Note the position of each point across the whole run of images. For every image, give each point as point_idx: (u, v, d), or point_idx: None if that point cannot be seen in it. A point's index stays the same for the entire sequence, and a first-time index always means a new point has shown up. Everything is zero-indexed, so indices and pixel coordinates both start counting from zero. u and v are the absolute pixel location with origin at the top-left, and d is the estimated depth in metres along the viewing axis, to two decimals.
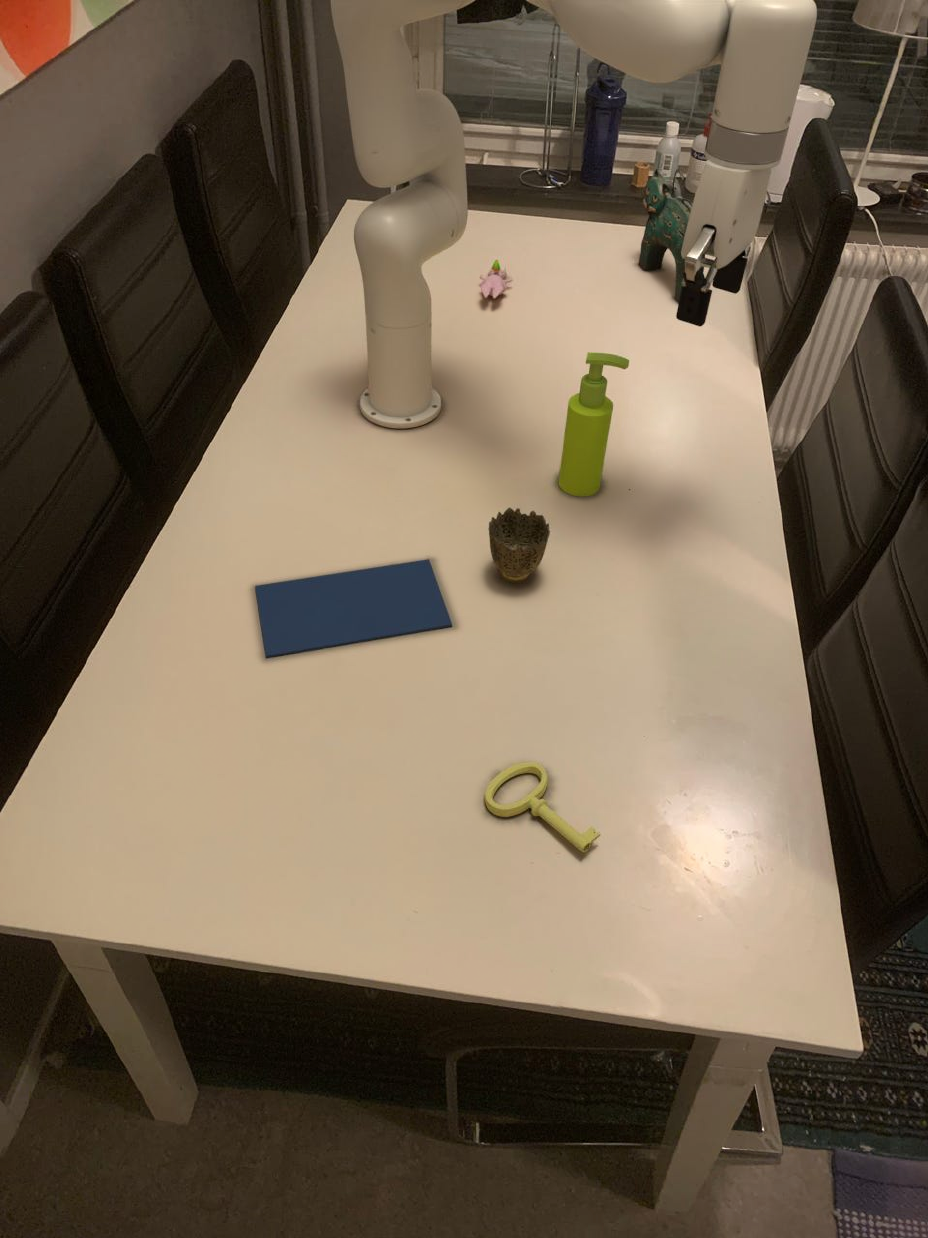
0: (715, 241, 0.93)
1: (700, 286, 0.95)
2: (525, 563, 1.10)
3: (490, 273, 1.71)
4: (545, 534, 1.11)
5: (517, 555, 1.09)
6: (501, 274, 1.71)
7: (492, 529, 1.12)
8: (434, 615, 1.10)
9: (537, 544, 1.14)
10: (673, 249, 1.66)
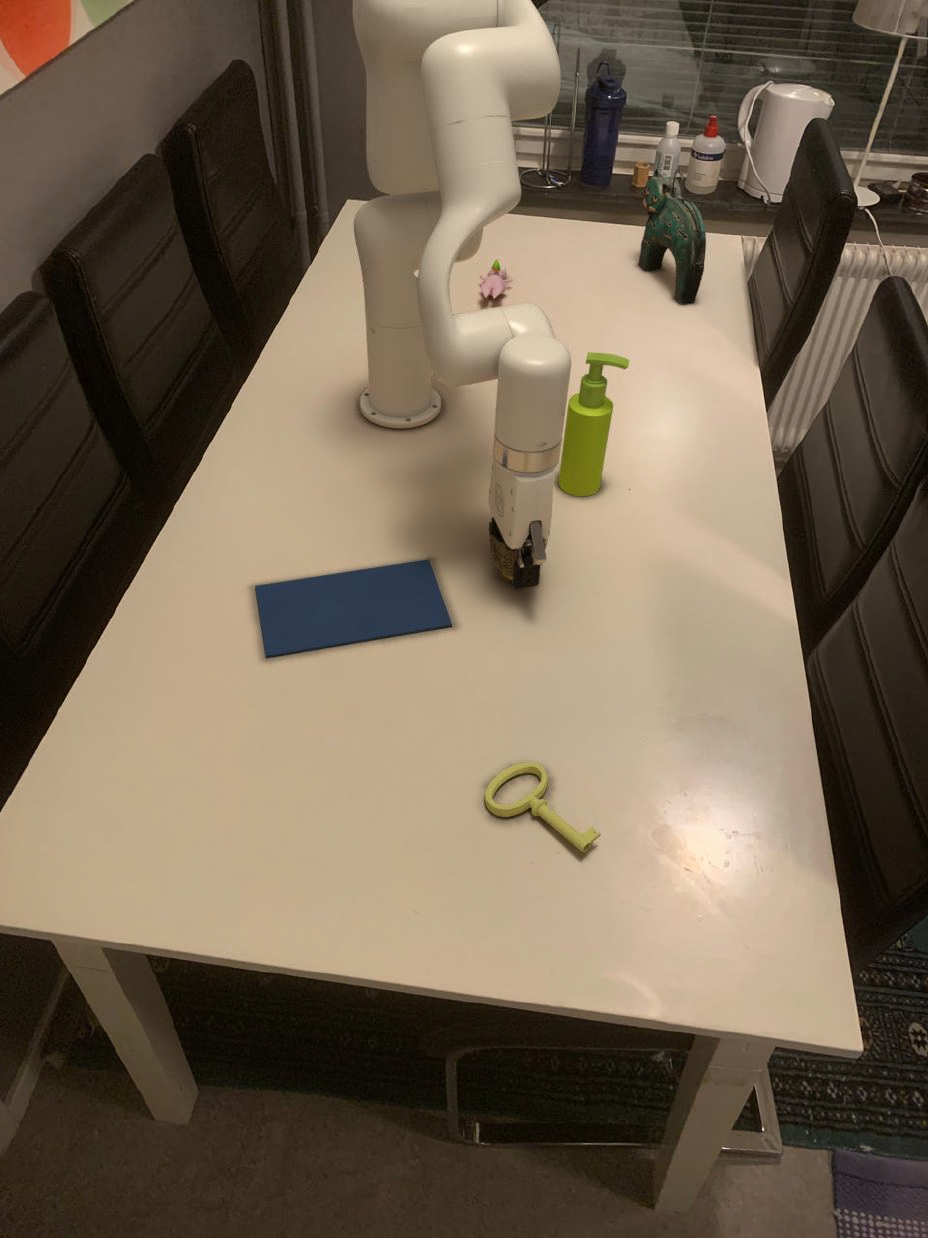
0: (542, 529, 1.04)
1: None
2: None
3: (490, 273, 1.71)
4: None
5: None
6: (501, 274, 1.71)
7: (492, 529, 1.12)
8: (434, 615, 1.10)
9: None
10: (673, 249, 1.66)
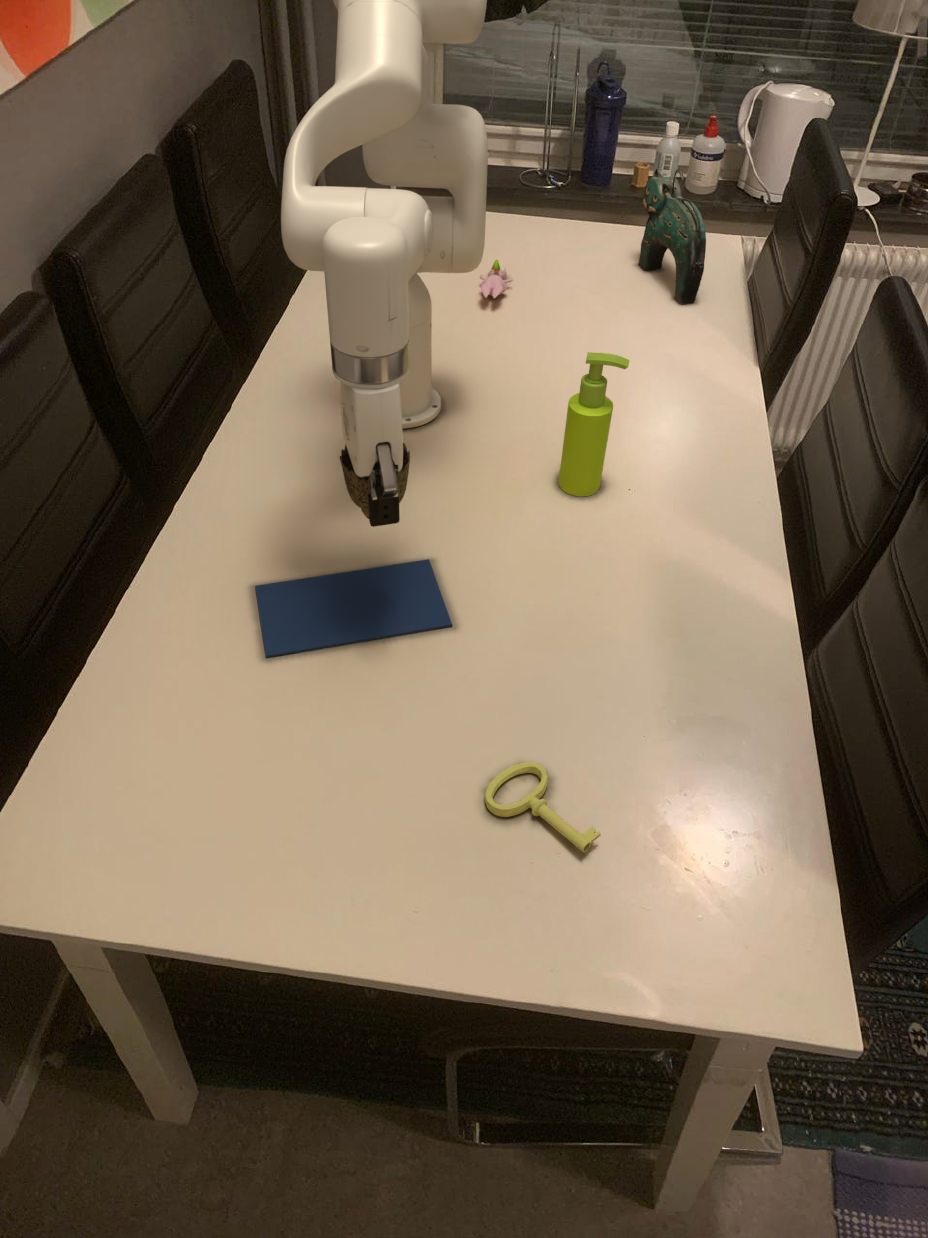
0: (392, 453, 0.91)
1: None
2: None
3: (490, 273, 1.71)
4: (407, 464, 0.98)
5: None
6: (501, 274, 1.71)
7: (347, 459, 0.98)
8: (434, 615, 1.10)
9: None
10: (673, 249, 1.66)
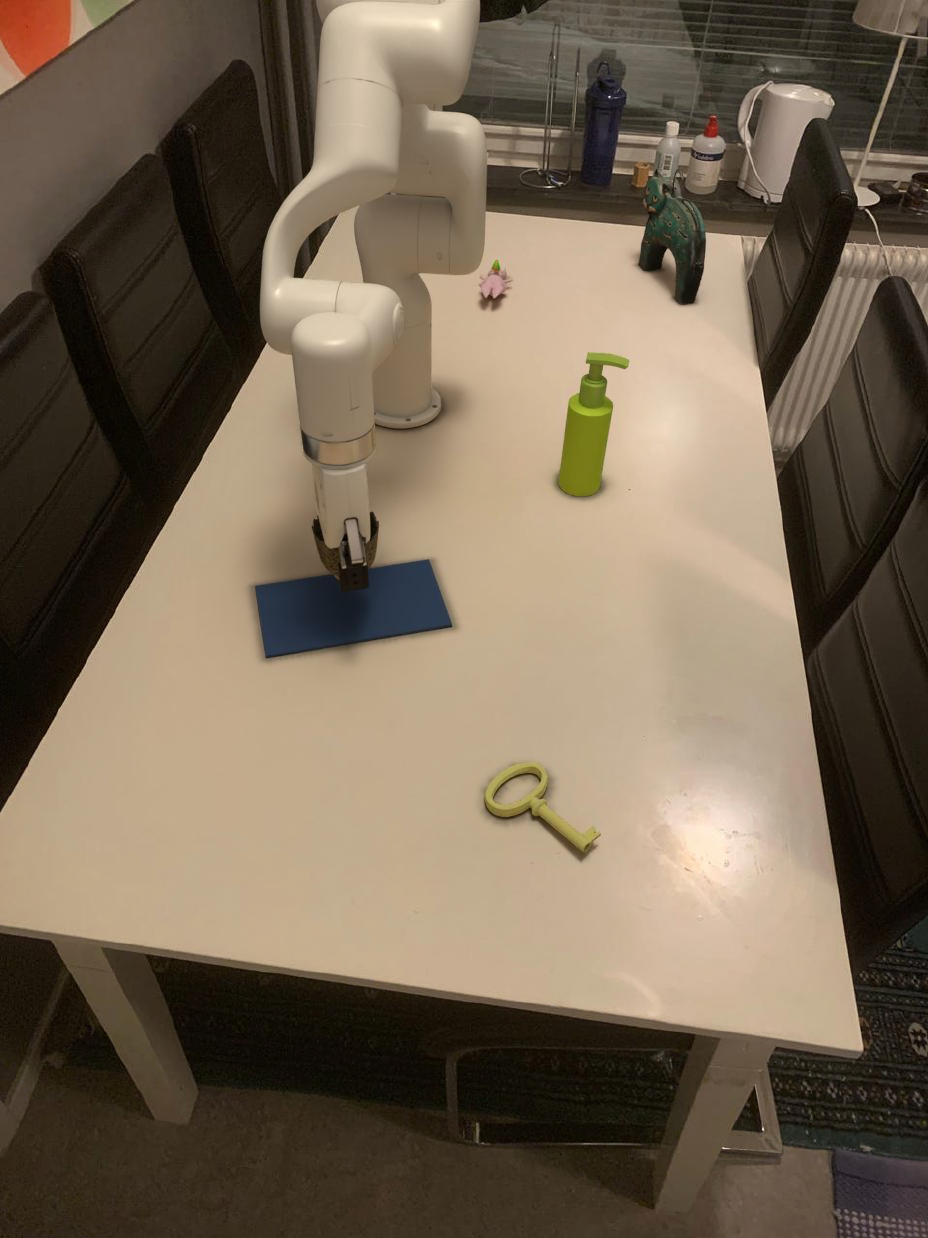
0: (360, 527, 0.96)
1: None
2: None
3: (490, 273, 1.71)
4: (376, 532, 1.03)
5: None
6: (501, 274, 1.71)
7: (319, 527, 1.03)
8: (434, 615, 1.10)
9: None
10: (673, 249, 1.66)
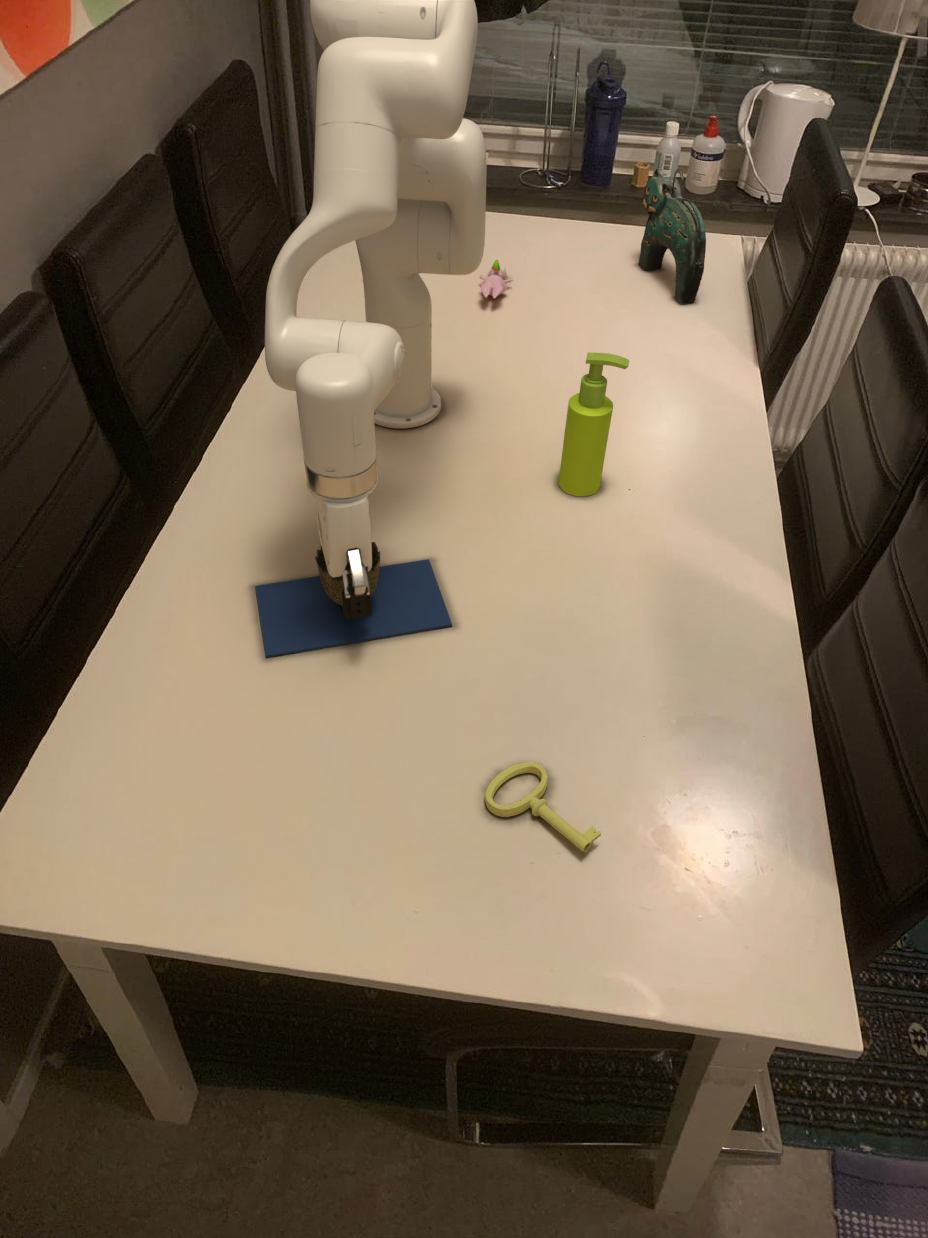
0: (362, 557, 0.99)
1: None
2: None
3: (490, 273, 1.71)
4: (377, 562, 1.06)
5: None
6: (501, 274, 1.71)
7: (322, 557, 1.07)
8: (434, 615, 1.10)
9: None
10: (673, 249, 1.66)
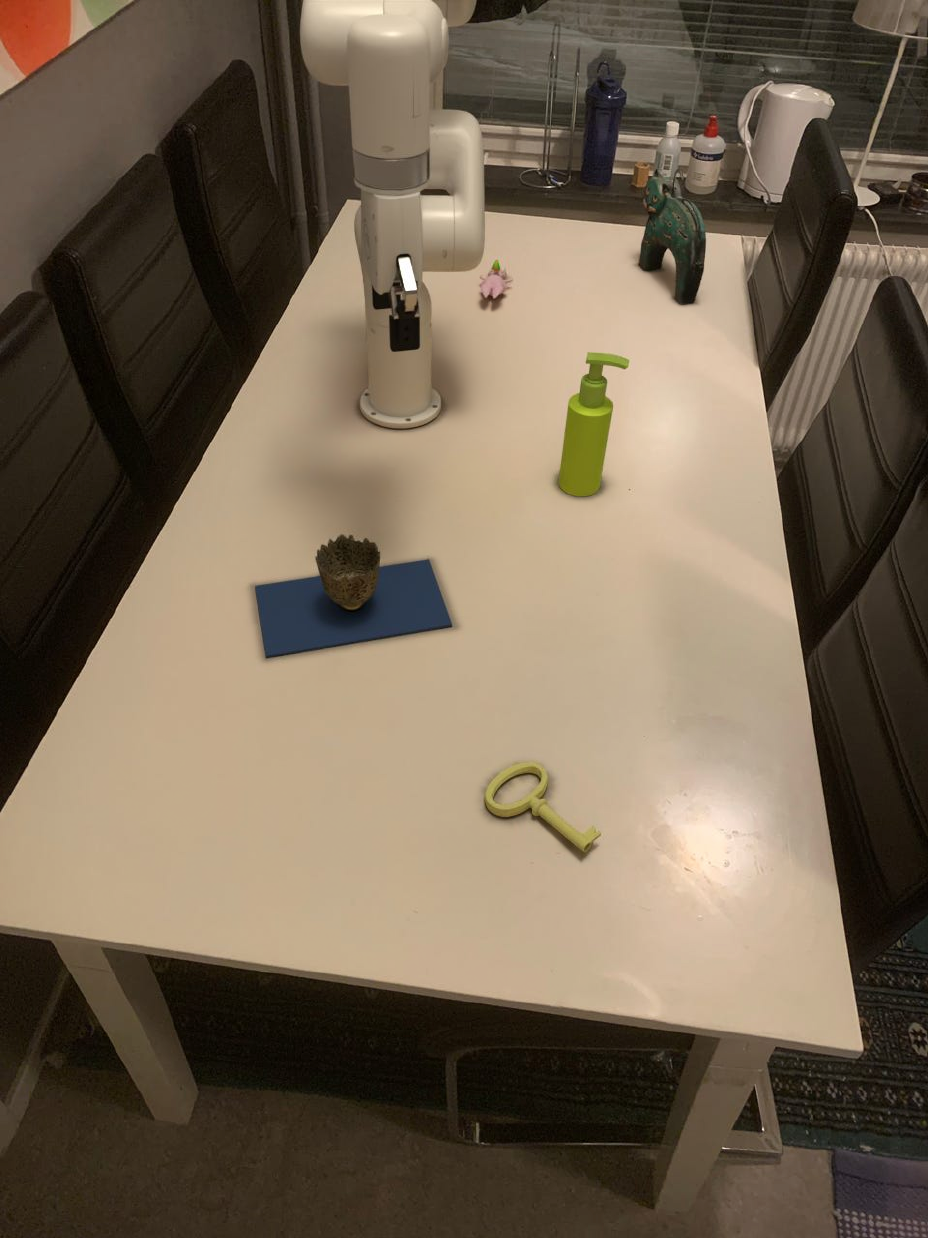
0: (412, 267, 0.92)
1: None
2: (354, 593, 1.05)
3: (490, 273, 1.71)
4: (377, 562, 1.06)
5: (343, 586, 1.03)
6: (501, 274, 1.71)
7: (322, 557, 1.07)
8: (434, 615, 1.10)
9: None
10: (673, 249, 1.66)
